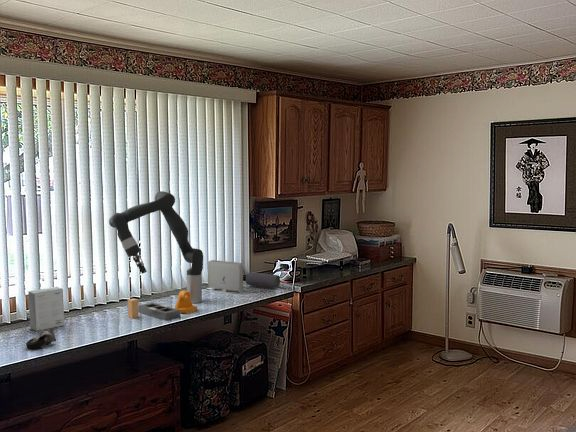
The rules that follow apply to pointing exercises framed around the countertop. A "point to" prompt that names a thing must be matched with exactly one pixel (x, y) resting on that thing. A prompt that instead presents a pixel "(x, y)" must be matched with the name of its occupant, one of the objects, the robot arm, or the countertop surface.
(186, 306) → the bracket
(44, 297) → the hard drive box
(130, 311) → the peg
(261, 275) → the bluetooth speaker
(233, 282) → the network device
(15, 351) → the countertop surface
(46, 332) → the caster wheel
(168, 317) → the rail
